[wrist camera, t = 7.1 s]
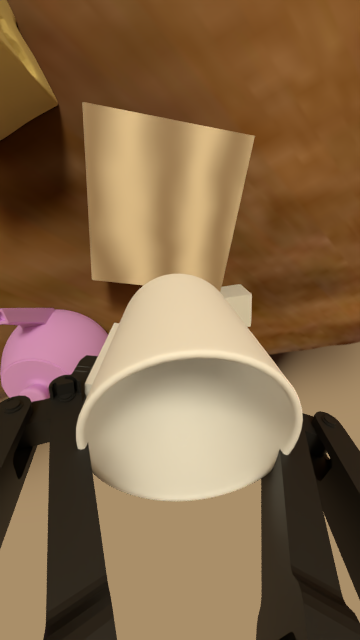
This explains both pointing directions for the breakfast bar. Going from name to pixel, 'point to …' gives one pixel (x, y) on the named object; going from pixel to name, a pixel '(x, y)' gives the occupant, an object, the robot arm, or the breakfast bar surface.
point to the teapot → (45, 348)
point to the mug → (186, 398)
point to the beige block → (239, 301)
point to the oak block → (160, 195)
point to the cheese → (19, 78)
